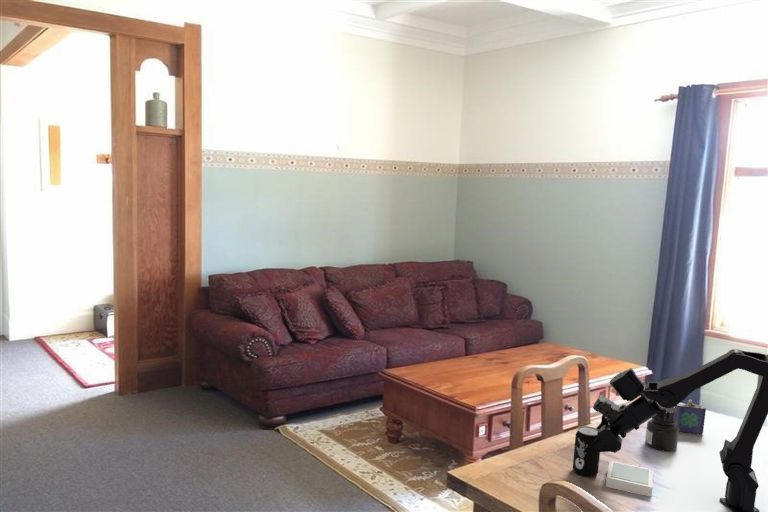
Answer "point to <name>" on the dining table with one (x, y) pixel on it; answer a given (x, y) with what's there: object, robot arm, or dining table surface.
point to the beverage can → (585, 461)
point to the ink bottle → (663, 431)
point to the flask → (690, 418)
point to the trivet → (630, 478)
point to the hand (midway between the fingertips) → (587, 445)
